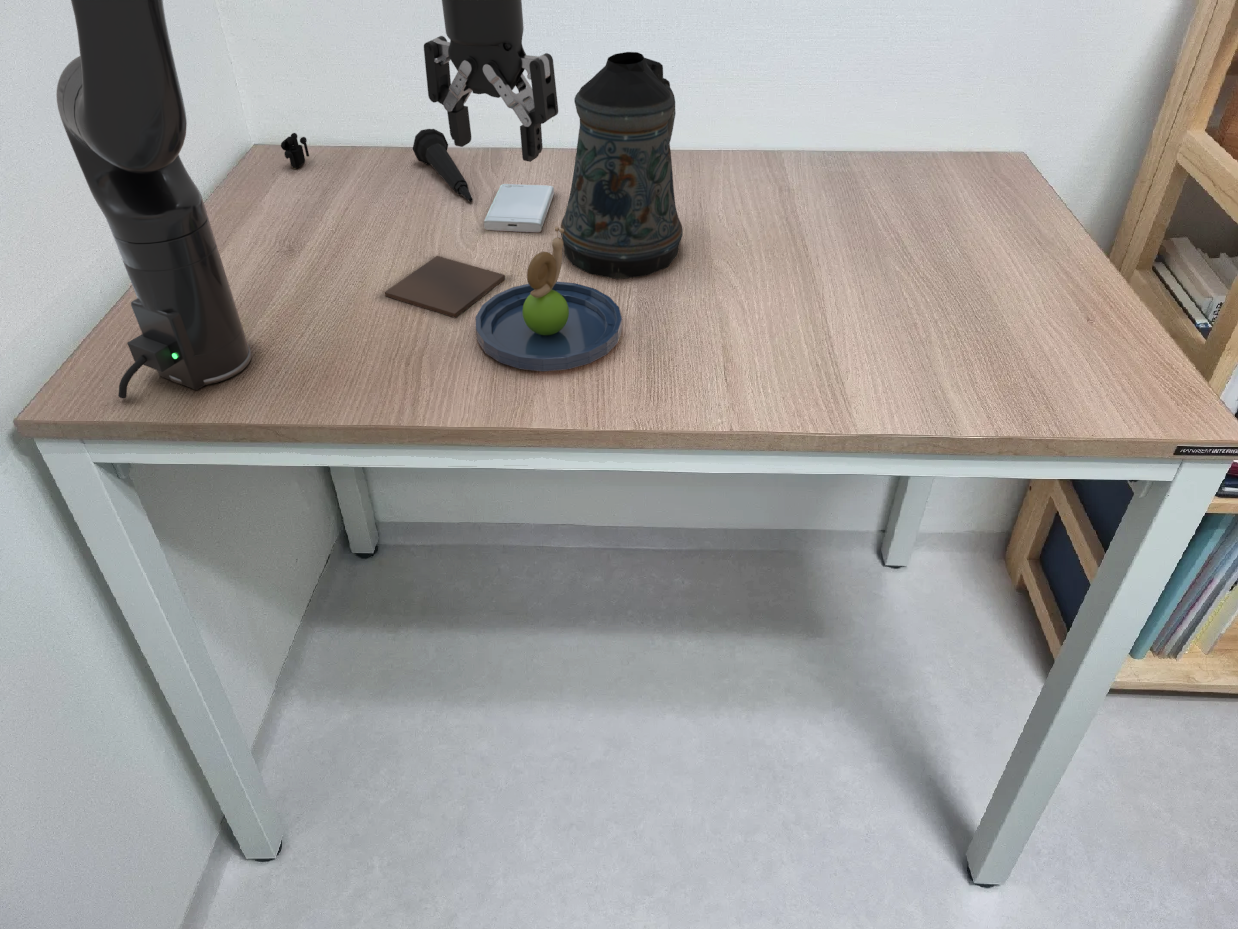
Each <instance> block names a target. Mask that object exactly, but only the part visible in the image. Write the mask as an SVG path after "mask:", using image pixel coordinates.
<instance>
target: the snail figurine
mask: <svg viewBox="0 0 1238 929" xmlns="http://www.w3.org/2000/svg"><path fill="white" fill-rule="evenodd" d="M554 232H556V237H555V238H553V240H552V242H551V247H552V253H550V252H549V251H540V252H538V253H537V254H535V256H533V258H532V259H531V260H530V262H529V265H528V267H527V273H526V279H527V284H529V285H530V286H531V287H532V288H534V290H533V291H531V293H530V295H529V296H528V297H527V299H526V300H525V302H524V305H523V318H524V321H525V323H526V325H527V326H528V327H529V328H530V329H531V330H532V331H533V332H535V333H537V334H540V335H552V334H555V333H557V332H559V331H560V330H561V329H562V328H563V327H564V326H565V324H566V323H567V320H568V316H569V308H568V304H567V302H566V300H565V299H564V297H563V296H562V295H561V294H560V293H558V292H557V291H555V290H552V288H553V286H554V285H555V283H556V282H557V281H558V280H559V278H560V274H561V269H562V264H563V249H564V245H563V244H564V243H563V240H562V237H559V233H560V234H561V233H563V232H564V229H563V228H561V227H559V226H555V227H554Z"/></svg>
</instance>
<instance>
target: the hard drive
mask: <svg viewBox="0 0 1238 929" xmlns="http://www.w3.org/2000/svg"><path fill="white" fill-rule="evenodd" d="M554 195H555V187H554V186H553V185H547V184H521V183H520V184H519V183H517V184H516V183H502V184H500V186H499V188H498V190H497V192H496V194H495V197H494V199H493V201H492V202H491V205H490V207H489V209H488V212H487V214H486V216H485V218H484V220H483V227H484V230H487V231H499V232H519V233H520V232H522V233H540V232H542V230H543V226H544V224H545V220H546V219H547V216H548V212H549V209H550V206H551V204H552V201H553V198H554Z"/></svg>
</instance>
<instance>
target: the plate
mask: <svg viewBox="0 0 1238 929" xmlns="http://www.w3.org/2000/svg"><path fill="white" fill-rule="evenodd" d="M533 290H534V288H532V287H531V286H530V285H529V283H525V284H521V285H517V286H512V287H510V288H507V289H506V290H503V291H501V292H498V293H497V294H494V295H493V296H492V297H490V298H489V299H488V300H487V301H486V302H484V303H483V304H482V305H481V307H480V308H479V310H478V312H477V314H476V315H475V317H474V318H475V319H474V320H475V333H476V334H475V335H476V341H477V343H478V344H479V346H480V347H481V349H482V350H483V352H484V353H485V355H487V356H489V357H491V358H492V359H493V360H495V361H497V362H498V363H500V364H503V365H506V366H509V367H512V368H515V369H519V370H524V371H525V370H526V371H536V372H551V371H553V372H555V371H566V370H571V369H574V368H578V367H582V366H586V365H589V364H591V363H593V362H595V361H597V360H599V359H601V358H602V357H604V356H607V355H608V354H609V352H611V350H613V349H614V348H615V347H616V346H617V344H619V341H620V337H621V334H622V332H623V318H622V317H623V316H622V313H621V310H620V307H619V306H618V305H617V303H616V302H615V301H614V300H613V299H612V298H611V297H610V296H609V295H607V294H605V293H603V292H602V291H600V290H598V289H596V288H594V287H590V286H587V285H583V284H580V283H576V282H566V281H558V280H557V282H556V283H555V285H554V286H553V288H552V290H555V291H557V292H558V293H560V294H561V295H562V296H563V297H564V299H565V300H566V302H567V304H568V308H569V316H568V320H567V323H566V324H565V326H564V327H563V328H562V329H561V330H560V331H559V332H557V333H555V334H552V335H540V334H537V333H535V332H533V331H532V330H531V329H530V328H529V327H528V326H527V325H526V323H525V321H524V318H523V305H524V302H525V300H526V299H527V297H528V296H529V295H530V293H531V291H533Z"/></svg>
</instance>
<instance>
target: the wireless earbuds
mask: <svg viewBox="0 0 1238 929" xmlns="http://www.w3.org/2000/svg"><path fill="white" fill-rule="evenodd" d="M307 140H308V139H307V138H306V136H301V137H300V138H299V141H298V134H297V133H296V132H292V133H291V134H290V136H287V137H286V138H285V139H284V140H283V141H281V143H280V148H281V149H282V150H283V151H284V153H283V154H284V157H285V159H287V160H288V159H289V163H290V165H291V167H292V169H293V170H294V169H295V170H296V169H299V168H300V167H301V166H302V165H303V164H305V162H306V157H307V158H309V157H310V153H309V152H310V151H309V147H308V143H307V142H308V141H307ZM299 142H300V144H299ZM303 146H304V147H303ZM304 152H305V153H304ZM305 156H306V157H305Z"/></svg>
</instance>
